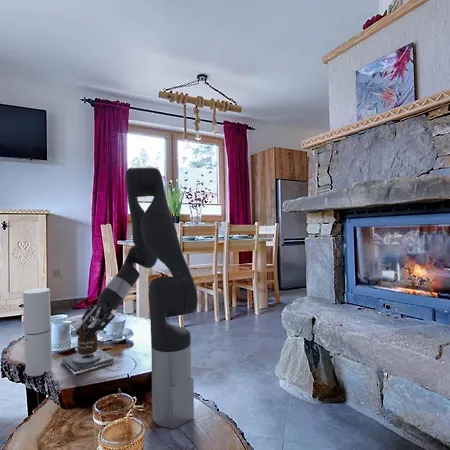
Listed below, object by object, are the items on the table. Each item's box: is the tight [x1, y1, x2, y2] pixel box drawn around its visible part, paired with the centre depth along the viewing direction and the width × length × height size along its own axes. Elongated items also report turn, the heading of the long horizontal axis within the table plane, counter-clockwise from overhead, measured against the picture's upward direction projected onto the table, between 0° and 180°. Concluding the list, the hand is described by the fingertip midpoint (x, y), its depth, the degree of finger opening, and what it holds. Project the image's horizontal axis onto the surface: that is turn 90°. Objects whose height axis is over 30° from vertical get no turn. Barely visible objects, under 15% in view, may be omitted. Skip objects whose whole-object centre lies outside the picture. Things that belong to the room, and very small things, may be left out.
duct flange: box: [61, 346, 115, 372], centre depth 109 cm, size 12×12×3 cm
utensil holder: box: [76, 315, 98, 355], centre depth 108 cm, size 6×6×12 cm
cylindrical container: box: [22, 287, 53, 377], centre depth 103 cm, size 7×7×25 cm
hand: (82, 337), depth 107 cm, fingers closed on utensil holder, 5 cm apart
